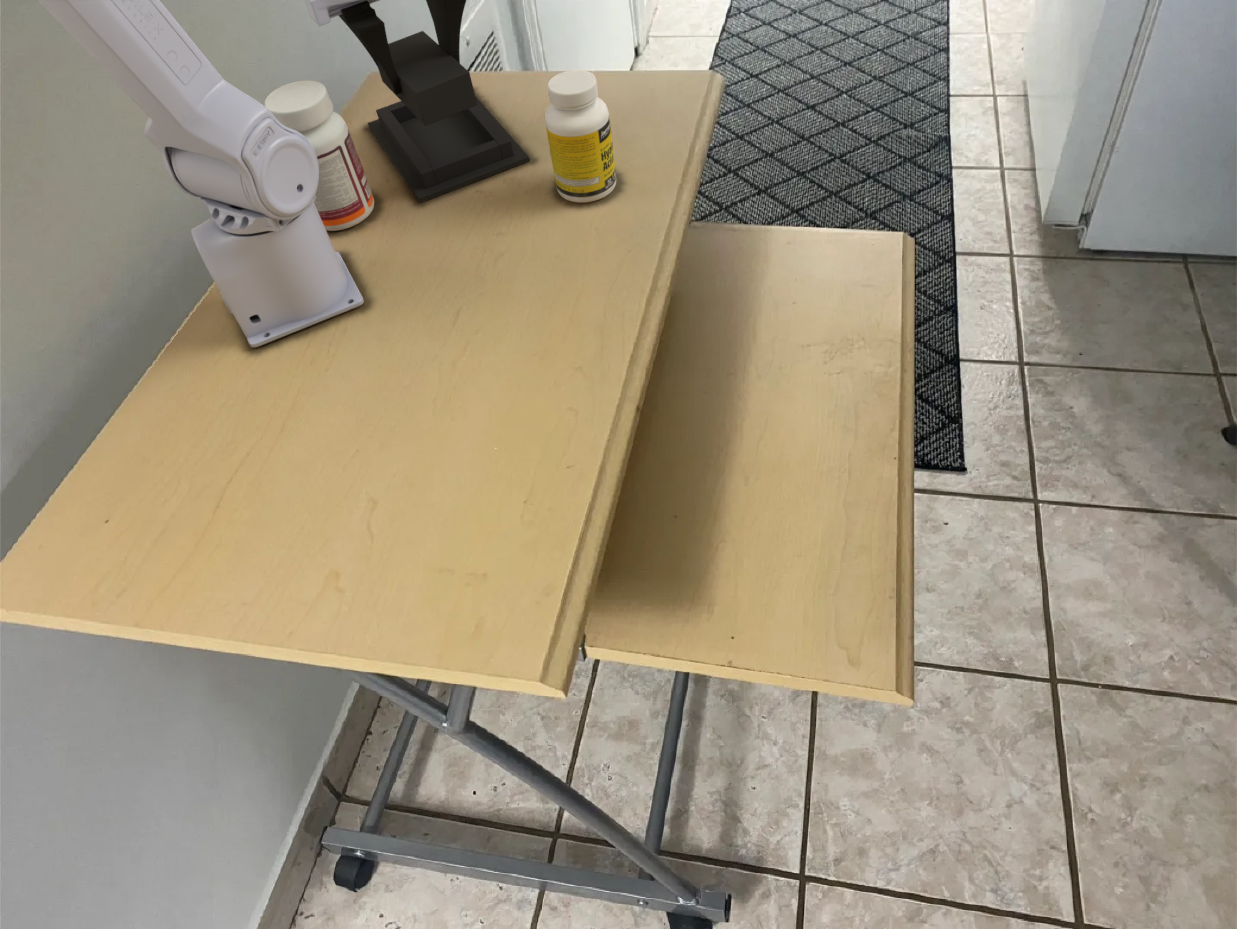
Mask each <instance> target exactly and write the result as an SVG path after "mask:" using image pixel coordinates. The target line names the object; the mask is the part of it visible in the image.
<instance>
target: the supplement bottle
mask: <svg viewBox="0 0 1237 929" xmlns="http://www.w3.org/2000/svg"><path fill="white" fill-rule="evenodd" d="M547 93H548V98H549V102H550V104H549V106H548V107H547V109H546V111H545V114H544V123H545V130H546V136H547V141H548V146H549V152H550V158H551V163H552V170H553V176H554V182H555V186H556V190H557V192H558V194H559V195H560V196H561V197H562V198H563V199H564V200H566V201H569V202H573V203H580V204H581V203H591V202H595V201H598V200H601V199H603V198H605V197H607V196H608V195H609V194H611V193H612V192H613V190H614V189H615V187H616V185H617V170H616V162H615V154H614V146H613V136H612V128H611V127H612V126H611V120H610V112H609V109H608V108H609V107H608V106H607V104H606V103H605V101H603V100H602V98H600V97H599V94H598V93H599V89H598V82H597V78H596V75H594V74H593V73H592V72H590V71H588V70H583V69H569V70H566V71H561V72H559V73H557V74H556V75H553V76H552V77H551V78H550V79H549V81H548V82H547Z"/></svg>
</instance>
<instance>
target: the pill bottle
mask: <svg viewBox="0 0 1237 929" xmlns="http://www.w3.org/2000/svg"><path fill="white" fill-rule="evenodd" d="M264 106H265V107H267V108H268V109H269V110H270V111H271V113H272V114H273V115H274V116H275V118H276V119H277V120H278V121H279V122H280V123H281V124H283V125H284V126H286V127H288V128H291V129H293V130H296V131H298V132H299V133H301V134H302V135H304V136H305V137H306V138H307V139H308V141H309V142H310V143H311V145H312V147H313V149H314V150H315V153H316V156H317V160H318V165H319V181H318V187H317V191H316V194H315V195H316V200H315V201H314V204H315V206H316V208H317V211H318V213H319V215H320V218H321V220H322V222H323V224H324V227H325V229H326V231H327V232H328V231H329V232H336V231H343V230H347V229H350V228H352V227H354V226H357V225H359V224H360V223H361V222H363V221H365V220H366V219H367V218H368V217H369V216H370V215H371V213H372V212H373V210H374V207H375V198H374V195H373V192H372V188H371V187H370V183H369V181H368V179H367V175H366V173H365V170H364V168H363V164H362V162H361V160H360V157H359V155H358V152H357V149H356V146H355V143H354V141H353V138H352V136H351V133H350V128H349V127H348V126H347V123H346V121H345V119H344V118H343V117H342V116H341V115H340V114H339V113H337V112H336V111H334V110H335V109H334V104H333V101H332V100H331V98H330V95H329V92H328V89H327V87H326V86H325V85H324V84H323V83H322V82H319V81H316V80H310V79H309V80H297V81H293V82H289V83H285V84H284V85H281V86H279V87H277V88H275V89H274V90H273V91H271V92H270V93H269V94H267V97H266V98H265V100H264Z"/></svg>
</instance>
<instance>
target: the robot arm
mask: <svg viewBox="0 0 1237 929" xmlns="http://www.w3.org/2000/svg"><path fill="white" fill-rule="evenodd" d="M37 1H38V2H39V3H40V4H41V5H42V6H43V7H44V8H45V9H46V10H47V11H48V12H49V13H50V15H51V16H52V17H54V19H55V20H56V21H57V23H59V24H60V25H61V26H62V27H63V28H64V30H66V31H67V33H69V35H70V36H71V37H72V38H73V39H74V40H75V41H76V42H77V43H78V44H79V45H80V46H81V47H82V48H83V49H84V51H86V53H87V54H89V56H91V58H92V59H93V60H94V61H95V62H96V63H97V64H98V65H99V66H100V67H101V68H102V70H104V72H105V73H106V74H108V75H109V77H110V78H111V79H112V80H113V81H114V82H115V83H116V84H117V86H119V87H120V89H121V90H122V91H124V92H125V94H126V95H127V96H128V97H129V98H130V99H131V100H132V101H133V102H134V103H135V104H136V105H137V106H138V107H139V108H140V109H141V111H142V112H144V114H145V115H146V116H147V119H146V123H145V127H144V132H143V133H144V134H143V135H144V137H145V138H146V139H147V140H148V141H149V142H150V143H151V144H152V145H153V146H154V147H155V149H156V150H157V151H158V153H159V155H160V158H162V162H163V165H164V167H165V170H166V173H167V174H168V177H169V179H170V180H171V182H172V183H173V184H174V185H175V186H176V187H177V188H178V189H179V190H181V191H182V192H184V193H185V194H187V195H190V196H192V197H197V198H199V199H200V201H201V202H202V204H203V206H204V208H205V210H206V212H207V213H209V214H210V215H211V216H210V217H209V218H208V219H207V220H205V221H203V222H201V223H200V224H198V225H196V226H194V227H193V228H191V229H190V234H191V236H192V239H193V241H194V244H195V246H196V248H197V251H198V253H199V255H200V257H201V259H202V261H203V263H204V265H205V267H206V269H207V271H208V273H209V275H210V276H211V278H212V281H213V282H214V284H215V286H216V287H217V290H218V291H219V293H220V296H221V299H222V301H223V302H224V304H225V306H226V309H227V310H228V311H229V313H230V314H232V315H233V317H234V318H235V320H236V322H237V323H238V325H239V328H240V329H241V330H242V332H243V334H244V336H245V338H246V339H247V343H248V345H249V346H250V347H251V348H258V347H261V346H263V345H266V344H269V343H272V342H274V341H276V340H279V339H282V338H284V337H286V336H288V335H290V334H293V333H296V332H299V331H301V330H303V329H306V328H308V327H311V326H313V325H316V324H318V323H320V322H323V321H326V320H328V319H330V318H333V317H336V316H338V315H340V314H343V313H345V312H348V311H351V310H353V309H356V308H358V307H360V306H362V305H363V304H364V302H365V300H364V298H363V296H362V293H361V292H360V289H359V288H358V285H357V284H356V282H355V279H354V278H353V276H352V274H351V272H350V271H349V269H348V266H347V265H346V263H345V261H344V259H343V258H342V256H341V253H340V252H339V251H338V250H337V251H336V250H335V247H334V245H333V243H332V241H331V238H330V235H329V233H328V231H327V230H326V229H325V227H324V224H323V222H322V220H321V218H320V215H319V213H318V211H317V208H316V206H315V204H314V201H315V200H316V195H315V194H316V191H317V187H318V181H319V165H318V160H317V156H316V153H315V150H314V149H313V147H312V145H311V143H310V142H309V141H308V139H307V138H306V137H305V136H304V135H302V134H301V133H299V132H298V131H296V130H293V129H291V128H288V127H286V126H284V125H283V124H281V123H280V122H279V121H278V120H277V119H276V118H275V116H274V115H273V114H272V113H271V111H270V110H269V109H268V108H267V107H265V104H262V103H261V102H259V101H258V100H256V99H255V98H253V97H251V95H248V94H247V93H245V92H244V91H242V90H241V89H239V88H237V87H236V86H235V85H232V84H231V83H230V82H228V81H227V80H225V79H224V78H223V76H222V75H221V74H220V73H219V71H218V70H217V69H216V68H215V67H214V65H213V64H212V62H210V61H209V59H208V58H207V57H206V55H205V54H204V53H203V51H201V49H200V48H199V47H198V46H197V44H196V43H195V42H194V41H193V40H192V38H191V37H190V36H189V35H188V34H187V32H186V31H185V30H184V28H183V27H182V26H181V25H180V23H179V22H178V21H177V19H175V18H174V15H172V13H171V12H170V11H169V10H168V8H166V6H165V5H164V4H163V2H162V1H161V0H37ZM377 2H380V0H304V3H305V5H306V8H307V11H308V13H309V16H310V18H311V20H312V21H313V22H314V23H315V24H316V25H317V26H318V27H321V26H325V25H327V24H329V23H331V22H332V20H331V19H332V18H335V17H339V19H341V20H342V21H343V23H344V24H345V25H346V26H347V28H348V29H349V30H350V31H351V32H352V33H353V34H354V36H355V37H356V38H357V39H358V41H359V42H360V44H361V45H362V46H363V47H364V49H365V50H366V52H367V53H368V55H369V56H370V58H371V59H372V61H373V62H374V64H375V65H376V67H377V69H378V68H379V69H378V71H379V70H380V72H381V74H382V76H383V78H384V80H385V82H386V84H387V86H386V87H387V88H388V89H389V90H390V91H391V92H392V93H393V94H394V95H395V96H396V95H397V94H400V93H402V89H401V85H400V81H399V76H398V74H397V71H396V68H395V66H394V63H393V60H392V57H391V53H390V49H389V45H388V44H389V40H388V36H387V32H386V25H385V22H384V21H383V20H382V19H381V18H380V17H379V16H378V15H377V12H376V10H375V8H373V7H372V6H371V4H373V3H377ZM425 2H426V5H427V7H428V10H429V14H430V16H431V19H432V22H433V26H434V31H435V34H436V38H437V44H438V45H439V46H441V47H442V48H443V49H444V50H445V51H446V52H447V53H448V54H450V55H451V56H452V57H453V58H454V59H455V60H456V61H457V62H459V63H460V64H461V59H460V58H461V56H460V41H461V28H462V20H463V16H464V11H465V10H464V9H465V6H466V3H467V0H425ZM380 72H379V73H380Z"/></svg>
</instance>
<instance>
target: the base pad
mask: <svg viewBox="0 0 1237 929" xmlns="http://www.w3.org/2000/svg"><path fill="white" fill-rule="evenodd" d="M475 97H476V101H477V105H476V106H474V107H471V108H469V109H466V110H464V111H461V112H459V113H457V114H454V115H452V116H449V117H447V118H444V119H442V120H439V121H437V122H435V123H432V124H430V125H427V126H425V125H424V124H423V123H422V122H421V121H420V120H419V119H418V118H417V117H416V116H415V115H414V114H413V113H412V112H411V111H410V110H409V109H408V107H407V106H406V105H405V104H404V103H403V102H402V101H401V100H399V101H397V102H394V103H391V104H389V105H387V106H383V107H380V108H377V109H376V110H375V113H376V115H377V119H375V120H372V121H369V122H367V126H368V128H369V129H370V131H371V132H372V134H373V135H374V137H375V138H376V140H377V141H378V143H379V145H380V146H381V148H383V150H384V152H385V153H386V155H387V156H388V158H389V159H390V161H391V162H392V163H393V165H394V166H395V168H396V170H397V171H398V173H399V174H400V176H401V177H402V178H403V181H404V182H405V183H406V184H407V186H408V188H409V189H410V190H411V192H412V194H413V195H414V196H415V198H416V199H417V201H418V202H419V203H421V204H422V203H424V202H426V201H429V200H433V199H434V198H437V197H440V196H442V195H445V194H448V193H450V192H453V191H456V190H458V189H461V188H464V187H466V186H468V185H469V186H470V185H472V184H473V183H476V182H479V181H481V180H484V179H487V178H489V177H492V176H495V175H497V174H500V173H503V172H505V171H507V170H510V169H513V168H515V167H518V166H520V165H524V164H526V163H529V162H530V161H531V160H530V156H529V155H528V153H526V151H524V149H523V148H522V147H521V146H520V145H519V144H518V143H517V141H516V140H515V139H514V138H513V137H512V136H511V134H510V133H509V132H508V131H507V130H506V129H505V128H504V127H503V125H502V124H501V123H500V121H498V119H497V118H495V116H494V115H493V114H492V113H491V112H490V110H488V108H487V107H486V106H485V105H484V104H483V103H482V101H480V99H479V98H478V97H477V96H476V95H475Z"/></svg>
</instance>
